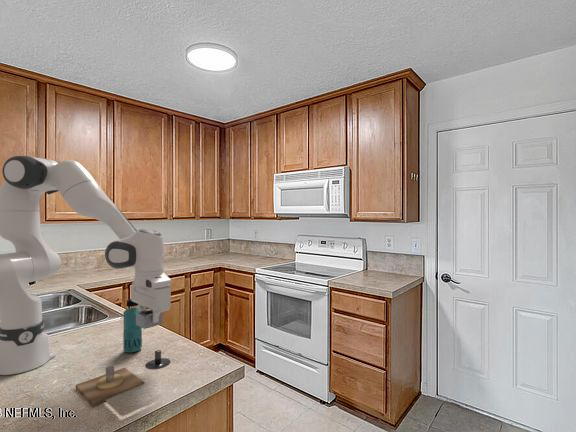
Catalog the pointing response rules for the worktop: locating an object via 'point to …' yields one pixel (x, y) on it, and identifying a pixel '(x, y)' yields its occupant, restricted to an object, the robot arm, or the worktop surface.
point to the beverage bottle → (131, 329)
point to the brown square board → (108, 385)
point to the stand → (157, 361)
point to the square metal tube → (147, 319)
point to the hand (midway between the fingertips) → (149, 319)
